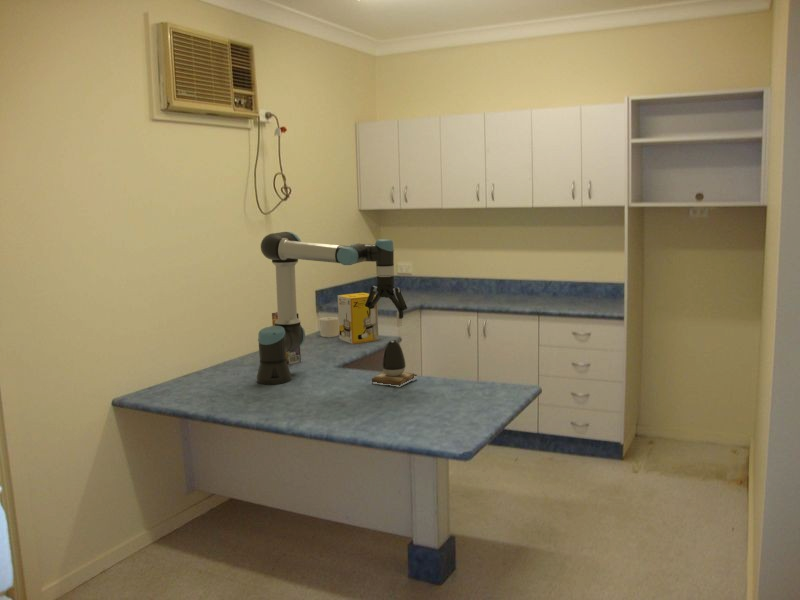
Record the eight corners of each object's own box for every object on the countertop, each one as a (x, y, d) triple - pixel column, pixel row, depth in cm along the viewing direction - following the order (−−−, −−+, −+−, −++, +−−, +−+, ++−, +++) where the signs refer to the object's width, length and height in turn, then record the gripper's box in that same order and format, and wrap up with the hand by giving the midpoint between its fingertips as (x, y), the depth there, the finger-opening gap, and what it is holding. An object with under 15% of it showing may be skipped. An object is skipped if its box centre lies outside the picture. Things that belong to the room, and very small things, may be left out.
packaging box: (378, 340, 404) (377, 295, 400) (352, 344, 396) (350, 298, 392) (365, 335, 418) (363, 292, 414) (339, 339, 410) (337, 295, 406)
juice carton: (300, 361, 358) (298, 313, 354) (288, 364, 353) (285, 315, 349) (286, 358, 367) (284, 311, 363) (274, 360, 362) (271, 313, 358)
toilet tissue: (333, 333, 429) (333, 316, 427) (343, 336, 419) (342, 318, 417) (317, 335, 423) (316, 318, 422) (326, 338, 413) (325, 321, 412)
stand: (399, 387, 305) (399, 380, 305) (372, 383, 313) (371, 377, 312) (416, 379, 317) (416, 373, 317) (389, 376, 324) (389, 369, 324)
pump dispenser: (407, 372, 318) (406, 338, 316) (403, 378, 308) (402, 343, 306) (385, 371, 321) (383, 337, 318) (379, 377, 310) (378, 342, 308)
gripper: (414, 276, 307) (415, 325, 310) (366, 273, 321) (367, 320, 324) (405, 278, 301) (406, 328, 304) (356, 275, 314) (357, 323, 318)
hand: (386, 324), depth 314 cm, fingers open, 13 cm apart
